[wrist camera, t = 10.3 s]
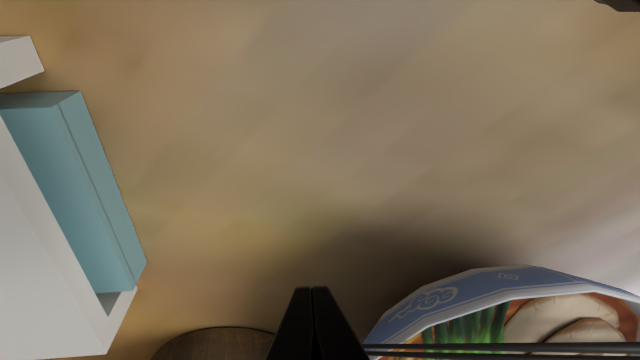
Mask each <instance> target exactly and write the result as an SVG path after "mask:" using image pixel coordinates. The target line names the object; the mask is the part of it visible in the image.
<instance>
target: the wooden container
mask: <svg viewBox="0 0 640 360" xmlns="http://www.w3.org/2000/svg"><path fill="white" fill-rule="evenodd" d="M274 337H275V335H274V334H271V333H268V332H264V331H259V330H254V329H247V328H212V329H205V330H200V331H196V332H192V333H189V334H186V335H183V336H181V337H178V338H176V339H174V340H172V341H170V342H169V343H167V344H166V345H164V346H163V347H161V348H160V349H159V350H158V351H157V352H156V353H155V354H154V356H153V357H152V359H151V360H265V358H266V356H267V353H268V351H269V349H270V346H271V344H272V342H273V339H274Z"/></svg>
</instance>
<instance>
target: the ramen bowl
mask: <svg viewBox="0 0 640 360" xmlns="http://www.w3.org/2000/svg"><path fill="white" fill-rule="evenodd" d="M362 346H363V348H364V349H365V351H366V353H367V355H368V356H369V358H370V360H640V297H639V296H637V295H634V294H632V293H630V292H627V291H625V290H622V289H619V288H616V287H612V286H609V285H605V284H602V283H598V282H595V281H591V280H588V279H584V278H580V277H577V276H573V275H569V274H565V273H562V272H558V271H554V270H550V269H547V268H543V267H537V266H530V265H511V266H499V267H488V268H477V269H470V270H467V271H464V272H462V273H459V274H456V275H453V276H450V277H447V278H444V279H441V280H439V281H436V282H433V283H430V284H427V285H424V286H422V287H420V288H419V289H417V290H416V291H414V292H413V293H412V294H410V295H409V296H407V297H406V298H404V299H403V300H402V301H400V302H399V303H397V304H396V305H394V306H393V307H392V308H390V309H389V310H387V311H386V312H384V314H383V315H382V316H381V318H380V319H379V321H378V322H377V323H376V325H375V326H374V328H373V329H372V330H371V332H370V333H369V335H368V336H367V337H366V339H365V340H364V342H363V343H362Z"/></svg>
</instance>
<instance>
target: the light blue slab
mask: <svg viewBox="0 0 640 360" xmlns="http://www.w3.org/2000/svg"><path fill="white" fill-rule="evenodd" d="M0 116H1V117H2V119H3V121H4V123H5V125H6V127H7V129H8V131H9V132H10V134H11V136H12V138H13V140H14V142H15V144H16V146H17V147H18V149H19V151H20V153H21V155H22V157H23V159H24V161H25V163H26V164H27V166H28V168H29V170H30V172H31V174H32V176H33V178H34V179H35V181H36V183H37V185H38V187H39V189H40V191H41V193H42V195H43V196H44V198H45V200H46V202H47V204H48V206H49V208H50V210H51V211H52V213H53V215H54V217H55V219H56V221H57V223H58V225H59V226H60V228H61V230H62V232H63V234H64V236H65V238H66V240H67V242H68V243H69V245H70V247H71V249H72V251H73V253H74V255H75V257H76V258H77V260H78V262H79V264H80V266H81V268H82V270H83V272H84V273H85V275H86V277H87V279H88V281H89V283H90V285H91V287H92V289H93V290H94V292H95V293H109V292H123V291H133V290H134V288H135V285H136V283H137V281H138V279H139V277H140V275H141V273H142V271H143V269H144V267H145V265H146V263H147V260H146V258H145V255H144V253H143V250H142V248H141V245H140V242H139V240H138V237H137V235H136V232H135V230H134V227H133V224H132V222H131V219H130V217H129V214H128V212H127V209H126V207H125V204H124V201H123V199H122V196H121V194H120V191H119V189H118V186H117V183H116V181H115V178H114V176H113V173H112V171H111V168H110V165H109V163H108V160H107V158H106V155H105V153H104V150H103V148H102V145H101V142H100V140H99V137H98V135H97V132H96V130H95V127H94V124H93V122H92V119H91V117H90V114H89V112H88V109H87V106H86V104H85V101H84V99H83V96H82V94H81V91H61V92H32V93H2V94H0Z"/></svg>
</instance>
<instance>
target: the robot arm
mask: <svg viewBox="0 0 640 360" xmlns="http://www.w3.org/2000/svg"><path fill="white" fill-rule="evenodd" d="M594 1H596V2H597V3H601V4H606V5H608V6H610V7H611V8H613V9H614V10H616V11H618V12H640V0H594ZM265 360H370V358H369V356H368V355H367V353H366V351H365V349H364V348H363V346H362V344H361V343H360V341H359V339H358V337H357V336H356V334H355V332H354V331H353V329H352V327H351V325H350V324H349V322H348V320H347V319H346V317H345V315H344V313H343V312H342V310H341V308H340V307H339V305H338V303H337V301H336V300H335V298H334V296H333V295H332V293H331V291H330V289H329V288H328V287H327V286H326V285H322V286H313V287H312V289H311V287H310V286H301V287H296V288H295V290H294V292H293V294H292V297H291V299H290V302H289V304H288V306H287V309H286V311H285V313H284V316H283V318H282V320H281V323H280V325H279V327H278V330H277V332H276V335H275V337H274V339H273V342H272V344H271V346H270V349H269V351H268V353H267V356H266V358H265Z"/></svg>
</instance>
